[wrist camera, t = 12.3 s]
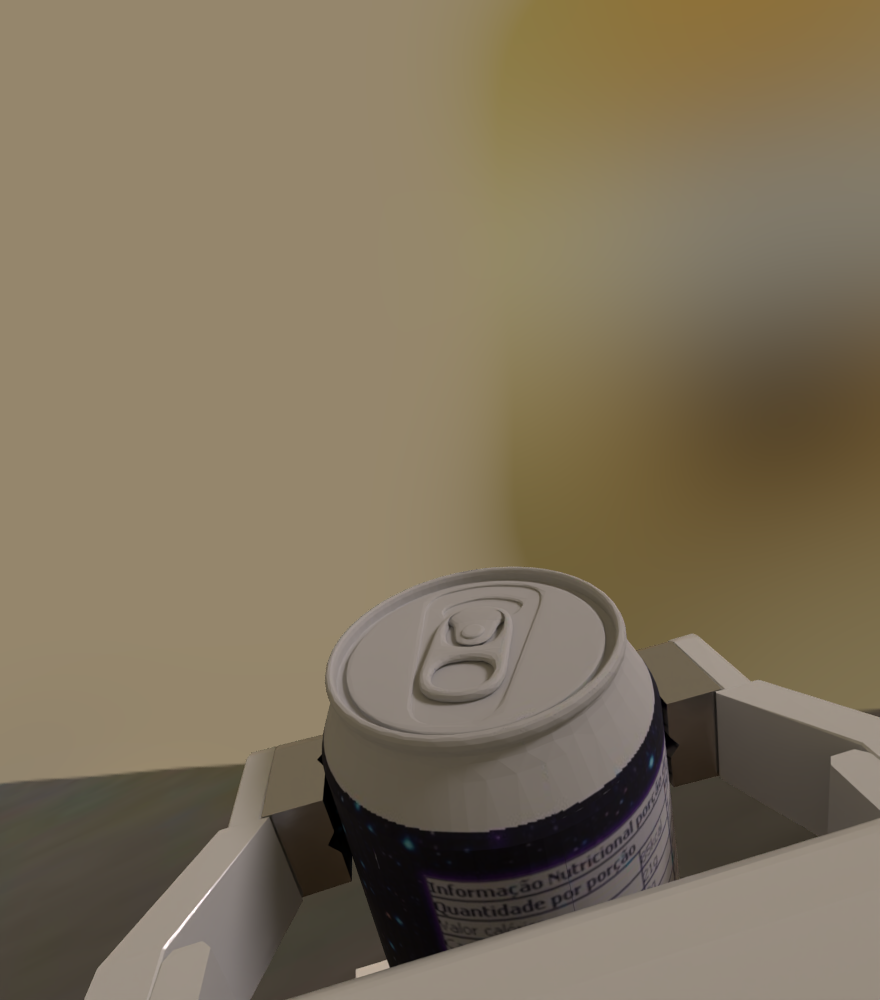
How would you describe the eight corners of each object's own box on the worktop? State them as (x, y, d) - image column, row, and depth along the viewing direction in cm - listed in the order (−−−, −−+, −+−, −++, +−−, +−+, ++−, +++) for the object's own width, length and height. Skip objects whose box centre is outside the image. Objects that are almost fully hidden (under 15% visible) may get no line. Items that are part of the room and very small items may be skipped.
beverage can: (676, 959, 14) (628, 544, 11) (745, 1344, 9) (695, 765, 5) (468, 941, 16) (369, 571, 12) (421, 1259, 10) (223, 764, 7)
